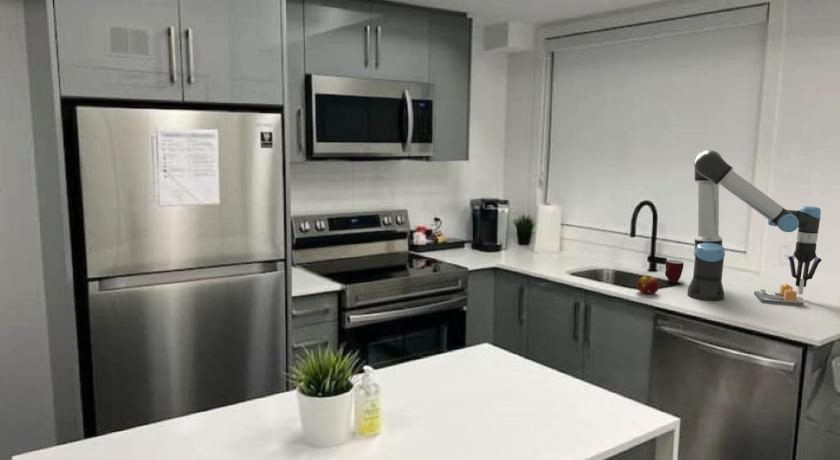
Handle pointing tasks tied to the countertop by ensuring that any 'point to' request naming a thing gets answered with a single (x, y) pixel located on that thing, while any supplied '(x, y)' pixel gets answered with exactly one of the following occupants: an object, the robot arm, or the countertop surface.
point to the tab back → (785, 288)
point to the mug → (673, 270)
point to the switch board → (776, 298)
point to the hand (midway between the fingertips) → (799, 293)
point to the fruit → (648, 284)
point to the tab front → (789, 295)
